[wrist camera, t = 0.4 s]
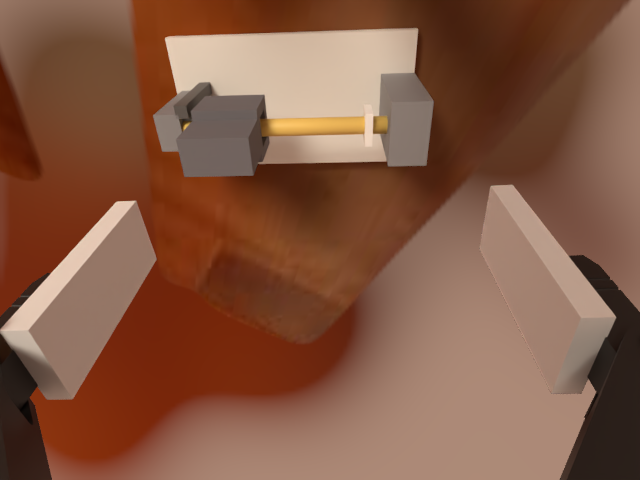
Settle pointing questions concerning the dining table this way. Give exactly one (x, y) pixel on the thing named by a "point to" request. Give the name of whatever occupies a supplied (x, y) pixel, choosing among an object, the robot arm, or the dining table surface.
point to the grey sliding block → (224, 137)
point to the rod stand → (310, 92)
